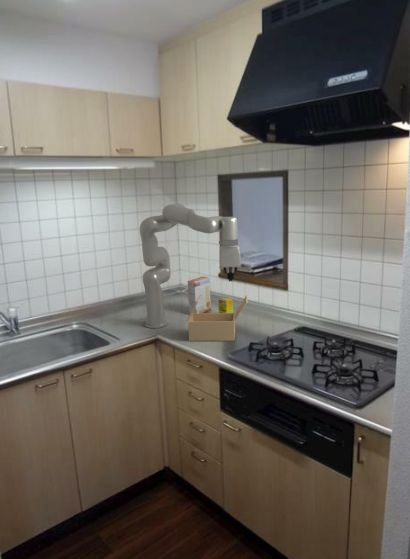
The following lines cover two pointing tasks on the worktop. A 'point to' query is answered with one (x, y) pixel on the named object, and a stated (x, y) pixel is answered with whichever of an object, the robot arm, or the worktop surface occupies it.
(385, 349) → the worktop surface
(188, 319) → the flap
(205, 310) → the cracker box
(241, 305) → the flap
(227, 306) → the supplement box
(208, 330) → the carton
